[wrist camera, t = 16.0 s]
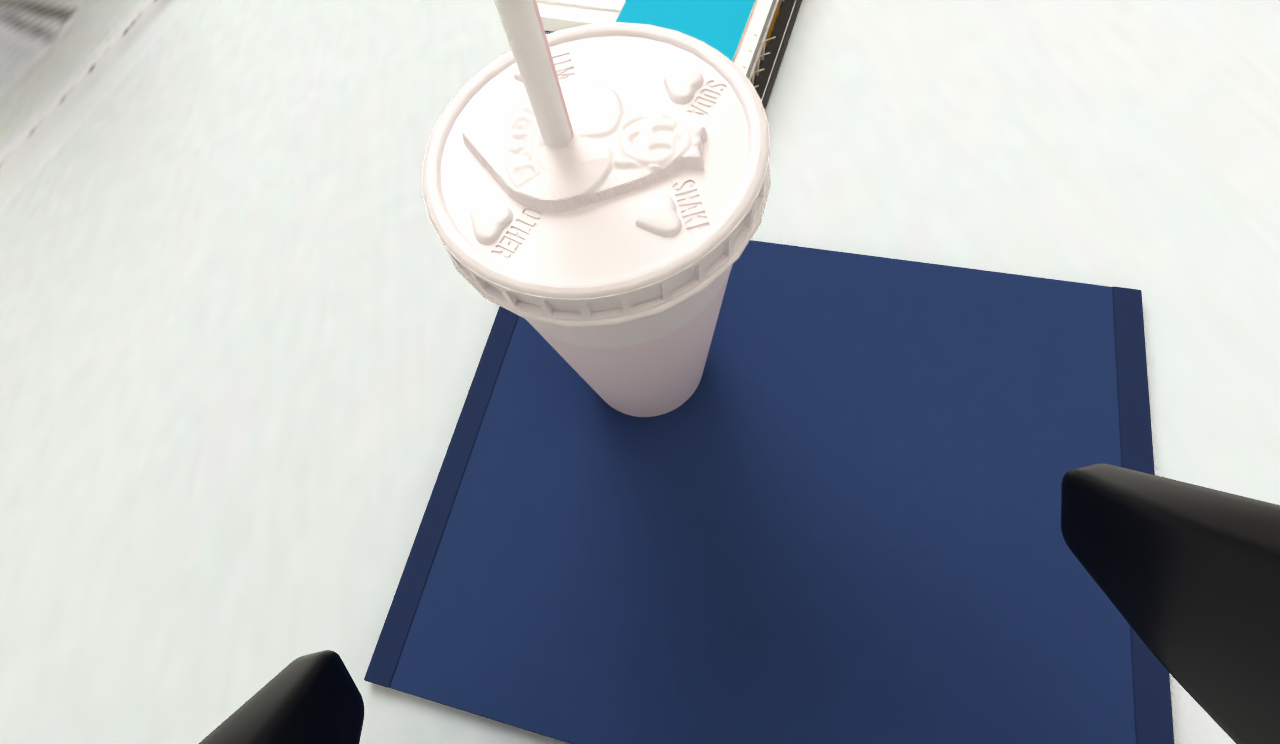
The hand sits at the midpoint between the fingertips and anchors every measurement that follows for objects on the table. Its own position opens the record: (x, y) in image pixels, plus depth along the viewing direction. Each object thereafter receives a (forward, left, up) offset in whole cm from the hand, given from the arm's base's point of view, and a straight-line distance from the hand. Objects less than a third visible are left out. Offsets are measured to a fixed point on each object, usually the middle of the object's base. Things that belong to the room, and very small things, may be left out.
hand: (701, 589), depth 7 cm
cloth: (+4, -1, -10) cm, 11 cm away
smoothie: (+7, +3, -10) cm, 13 cm away
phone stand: (+23, +7, -10) cm, 26 cm away
